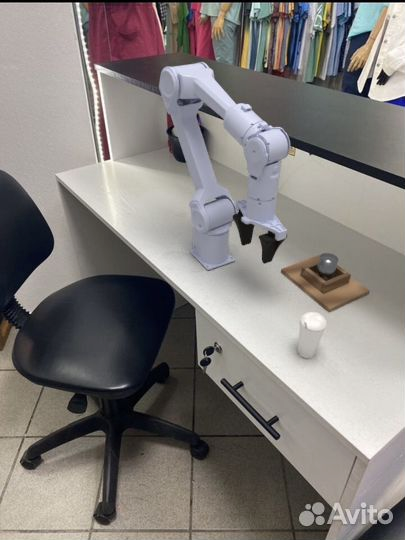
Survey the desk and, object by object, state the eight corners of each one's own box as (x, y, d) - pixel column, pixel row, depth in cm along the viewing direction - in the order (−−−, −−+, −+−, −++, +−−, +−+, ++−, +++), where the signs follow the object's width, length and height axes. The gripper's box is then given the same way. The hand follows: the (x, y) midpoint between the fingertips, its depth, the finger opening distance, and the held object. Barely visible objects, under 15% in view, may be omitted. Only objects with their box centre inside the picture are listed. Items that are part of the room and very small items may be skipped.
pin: (311, 278, 89) (315, 257, 86) (322, 272, 91) (327, 251, 88) (325, 287, 87) (330, 265, 83) (336, 280, 89) (342, 259, 85)
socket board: (280, 272, 93) (282, 260, 91) (318, 258, 98) (320, 246, 95) (328, 312, 82) (332, 299, 80) (368, 294, 87) (372, 281, 84)
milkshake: (286, 354, 73) (293, 315, 67) (302, 339, 76) (311, 301, 70) (307, 368, 70) (316, 329, 64) (322, 352, 73) (333, 313, 67)
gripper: (224, 184, 78) (222, 241, 86) (268, 215, 68) (261, 276, 76) (252, 177, 81) (248, 233, 89) (299, 206, 71) (289, 265, 79)
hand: (256, 252), depth 83 cm, fingers open, 7 cm apart
